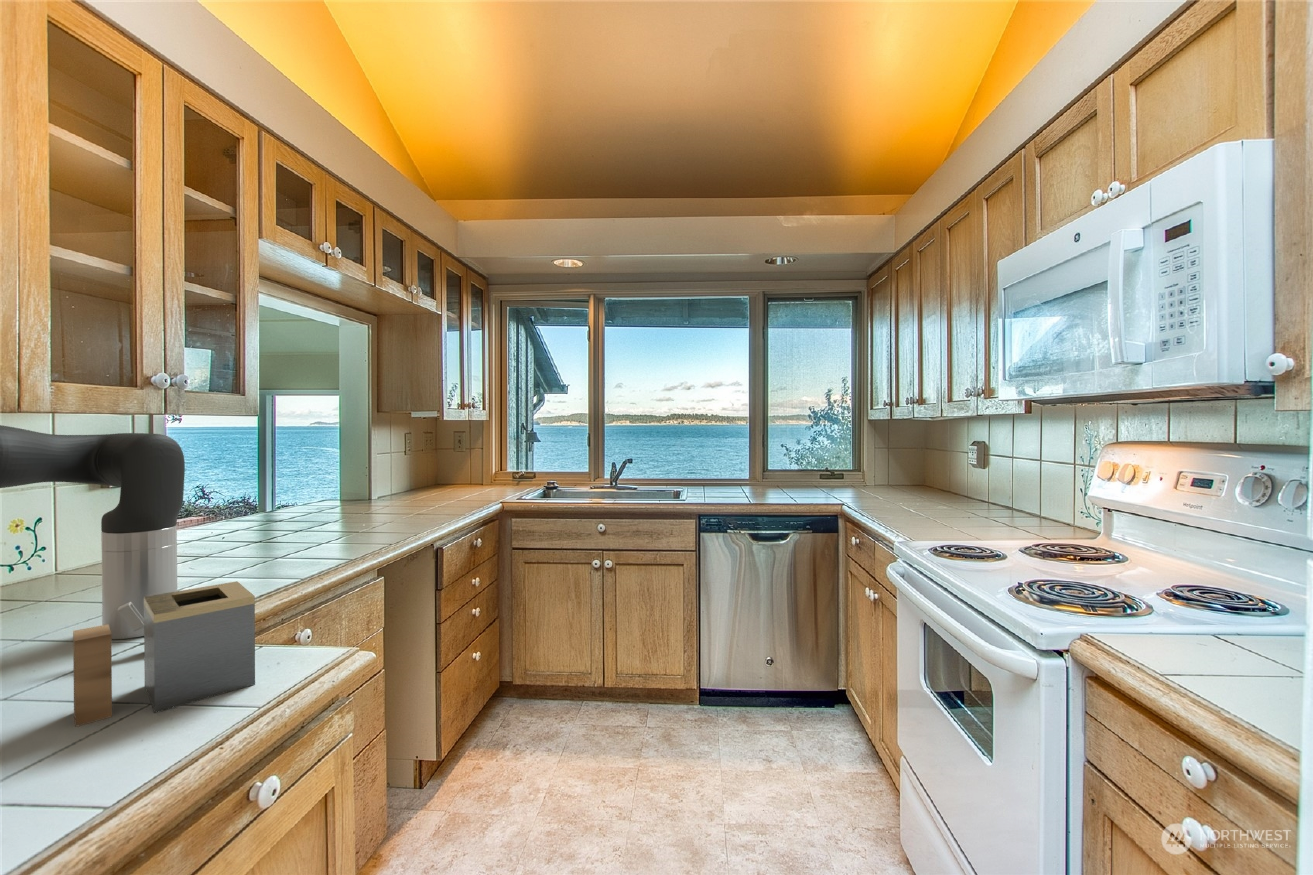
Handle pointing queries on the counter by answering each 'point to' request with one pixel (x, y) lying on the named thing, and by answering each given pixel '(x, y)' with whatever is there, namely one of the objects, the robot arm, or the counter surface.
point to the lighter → (131, 616)
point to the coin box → (198, 644)
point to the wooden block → (92, 674)
